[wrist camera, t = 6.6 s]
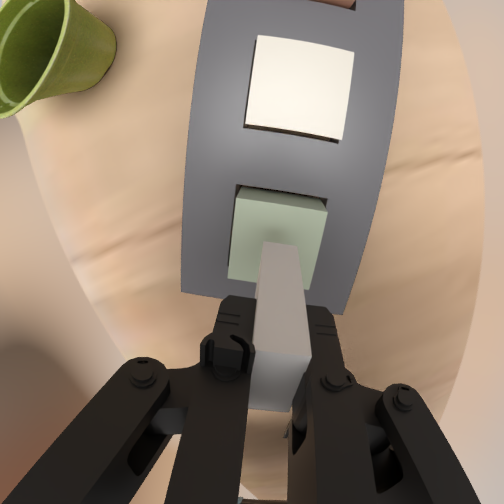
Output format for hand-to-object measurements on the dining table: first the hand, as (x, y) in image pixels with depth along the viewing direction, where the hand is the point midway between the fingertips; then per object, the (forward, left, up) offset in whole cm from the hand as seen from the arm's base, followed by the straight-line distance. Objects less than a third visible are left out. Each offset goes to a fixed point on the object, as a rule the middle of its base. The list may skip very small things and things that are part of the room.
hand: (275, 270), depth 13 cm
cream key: (+9, 0, -6) cm, 11 cm away
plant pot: (+12, +16, -9) cm, 22 cm away
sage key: (0, 0, -6) cm, 6 cm away
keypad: (+9, 0, -8) cm, 12 cm away
